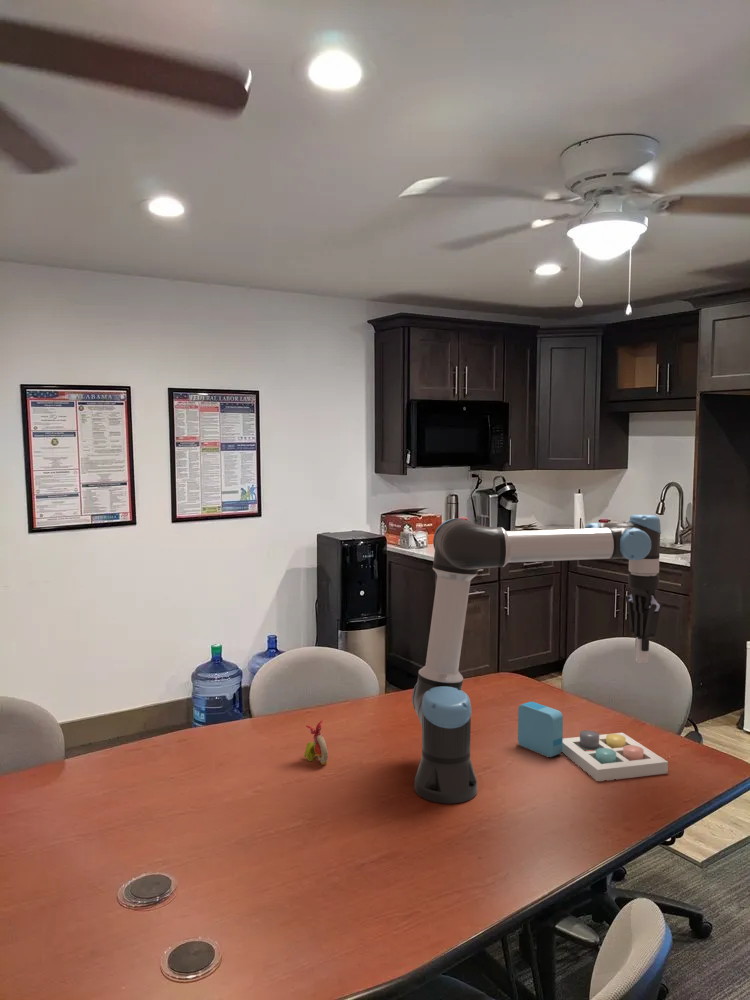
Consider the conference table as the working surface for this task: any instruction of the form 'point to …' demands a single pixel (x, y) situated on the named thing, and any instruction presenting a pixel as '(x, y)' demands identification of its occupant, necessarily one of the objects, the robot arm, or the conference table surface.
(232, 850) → the conference table surface
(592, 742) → the charcoal button
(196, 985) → the conference table surface
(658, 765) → the tray
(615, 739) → the mustard button
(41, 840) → the conference table surface
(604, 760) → the teal button
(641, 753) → the coral button
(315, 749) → the bird rattle
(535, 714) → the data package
